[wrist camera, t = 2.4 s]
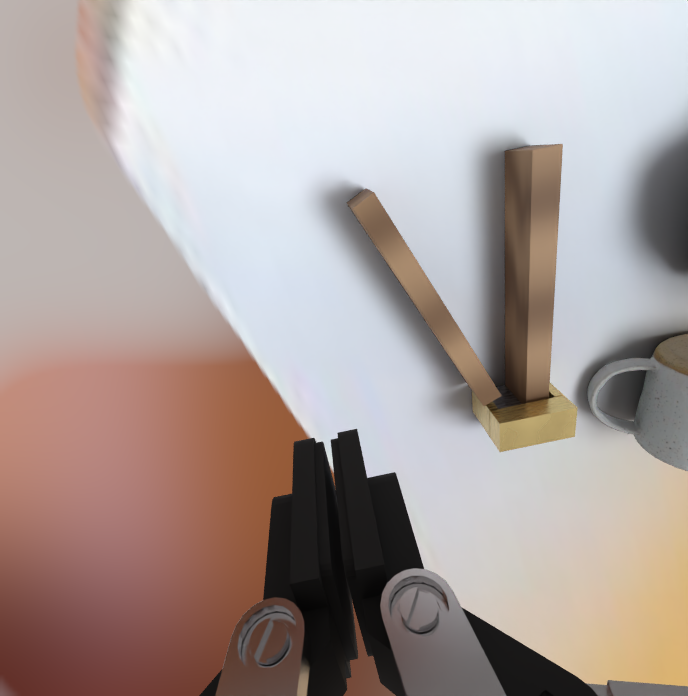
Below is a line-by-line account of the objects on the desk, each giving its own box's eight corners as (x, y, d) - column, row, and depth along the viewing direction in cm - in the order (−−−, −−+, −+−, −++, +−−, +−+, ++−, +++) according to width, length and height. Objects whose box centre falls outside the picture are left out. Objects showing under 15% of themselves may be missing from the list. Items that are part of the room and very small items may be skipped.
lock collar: (471, 386, 30) (499, 423, 26) (538, 372, 31) (577, 407, 26) (472, 411, 32) (499, 452, 27) (537, 398, 32) (574, 436, 27)
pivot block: (482, 389, 31) (500, 413, 28) (522, 381, 31) (545, 404, 28) (483, 421, 32) (501, 446, 29) (522, 412, 32) (543, 438, 29)
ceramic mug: (724, 319, 30) (846, 367, 23) (699, 407, 34) (799, 472, 27) (585, 344, 30) (666, 400, 23) (575, 430, 34) (643, 500, 27)
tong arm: (346, 203, 24) (352, 208, 21) (365, 188, 24) (373, 192, 21) (467, 384, 30) (483, 406, 28) (483, 374, 30) (501, 395, 27)
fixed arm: (504, 150, 24) (532, 150, 21) (531, 145, 24) (562, 144, 21) (505, 401, 32) (525, 425, 29) (525, 397, 32) (547, 421, 29)
